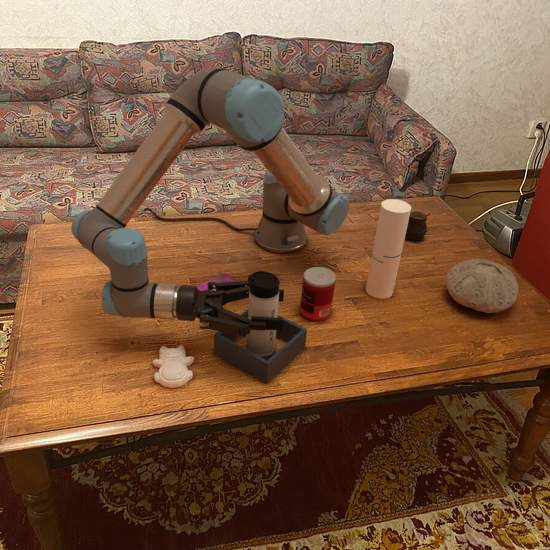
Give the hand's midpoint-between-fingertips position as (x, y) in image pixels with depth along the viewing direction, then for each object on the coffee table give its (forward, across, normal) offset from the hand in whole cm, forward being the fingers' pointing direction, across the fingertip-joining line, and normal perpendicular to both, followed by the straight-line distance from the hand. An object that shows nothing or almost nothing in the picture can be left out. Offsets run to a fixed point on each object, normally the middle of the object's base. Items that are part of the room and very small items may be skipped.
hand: (283, 309), depth 118 cm
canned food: (+8, -16, -12) cm, 21 cm away
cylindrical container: (+26, -27, -12) cm, 39 cm away
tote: (-4, 0, -12) cm, 13 cm away
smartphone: (-18, -21, -12) cm, 30 cm away
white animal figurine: (-23, +7, -12) cm, 27 cm away
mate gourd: (+40, -57, -12) cm, 71 cm away
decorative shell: (+51, -25, -12) cm, 58 cm away
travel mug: (-4, 0, -12) cm, 13 cm away
